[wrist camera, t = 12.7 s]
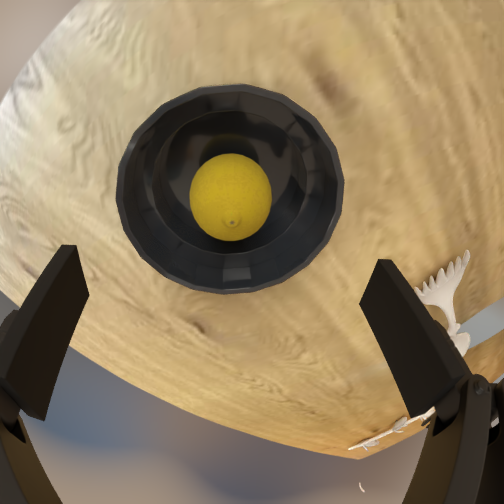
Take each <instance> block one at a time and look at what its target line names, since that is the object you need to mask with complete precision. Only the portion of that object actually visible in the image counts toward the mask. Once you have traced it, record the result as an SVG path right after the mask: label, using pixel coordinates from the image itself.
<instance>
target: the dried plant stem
mask: <svg viewBox="0 0 504 504" xmlns="http://www.w3.org/2000/svg"><path fill="white" fill-rule="evenodd" d="M434 409H435V408H434V406H433V407H432V408H431V409H430V410H429V411H428V412H426V413H425V414H423V415H420V416H417V417H414V418H412V419H410V420H408V421H407V417H403V418H401V419H400V420H399V421H398V422H397V420H396V422H395V425H394V427H393V428H392V429H390V430H388V431H386V432H384V433H382V434H380V435H377V436H375V437H373V438H371V439H369V438H368V439H365V440H363V441H361V442H360V443H359V444H357V445H355V446H352V447H350V448H348V449H349V450H352V449H355V448H357V447H363V448H364V449H366V450H367V451H368V449H367V448H366V447H370V446H375V445H377V444H379V443H380V442H379V441H377V440H376V439H379V438H381V437H383V436H385V435H387V434H390V433H392V432H396V433H401V432H404V431H397V430H399V429H400V428H402V427H406V426H407V424H409V423H411V422H413V421H415V420H417V419H418V418H420V419H421V420H422V421H423V419H424V420H426V418H425V417H429V416H430V415H432V414H433V413H434V412H435V410H434ZM422 418H423V419H422ZM360 488H361V485H360ZM361 490H362V491H363V492H365V491H364V490H363V489H362V488H361Z"/></svg>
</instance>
